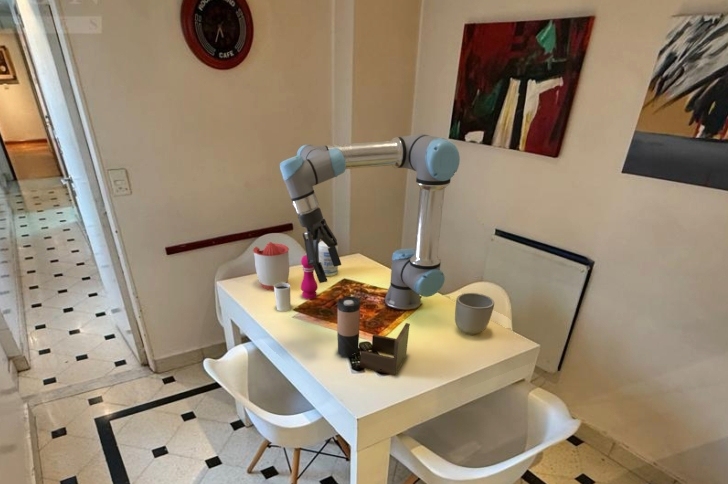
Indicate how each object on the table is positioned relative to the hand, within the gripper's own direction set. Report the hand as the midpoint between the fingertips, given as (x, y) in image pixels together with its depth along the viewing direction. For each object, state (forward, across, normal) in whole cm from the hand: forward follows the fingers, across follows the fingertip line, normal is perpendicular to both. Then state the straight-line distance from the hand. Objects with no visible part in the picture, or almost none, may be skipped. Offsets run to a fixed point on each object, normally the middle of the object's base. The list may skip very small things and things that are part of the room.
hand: (330, 273), depth 155 cm
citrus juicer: (+13, -39, -51) cm, 66 cm away
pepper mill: (+19, -33, -32) cm, 50 cm away
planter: (+42, -25, +35) cm, 61 cm away
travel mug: (+28, +6, -1) cm, 28 cm away
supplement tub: (+20, -61, -34) cm, 73 cm away
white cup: (+17, -18, -36) cm, 44 cm away
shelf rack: (+32, +8, +11) cm, 35 cm away
